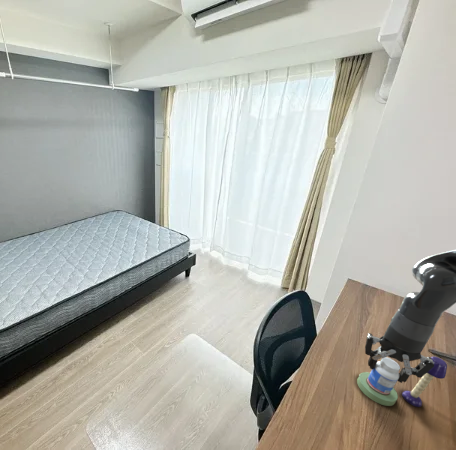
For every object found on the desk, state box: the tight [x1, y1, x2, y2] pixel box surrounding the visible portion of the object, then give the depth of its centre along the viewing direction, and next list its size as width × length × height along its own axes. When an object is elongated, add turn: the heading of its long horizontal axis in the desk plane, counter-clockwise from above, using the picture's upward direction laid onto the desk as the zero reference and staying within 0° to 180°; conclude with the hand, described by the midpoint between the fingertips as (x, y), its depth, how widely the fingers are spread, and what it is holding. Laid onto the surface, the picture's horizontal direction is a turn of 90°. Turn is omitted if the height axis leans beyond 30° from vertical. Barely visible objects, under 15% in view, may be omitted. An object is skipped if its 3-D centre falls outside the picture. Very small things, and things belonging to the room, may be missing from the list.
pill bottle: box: [367, 356, 401, 394], centre depth 72 cm, size 6×5×10 cm
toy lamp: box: [401, 356, 448, 408], centre depth 69 cm, size 5×5×17 cm
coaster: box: [356, 371, 399, 407], centre depth 74 cm, size 9×9×2 cm
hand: (385, 373), depth 71 cm, fingers open, 5 cm apart
